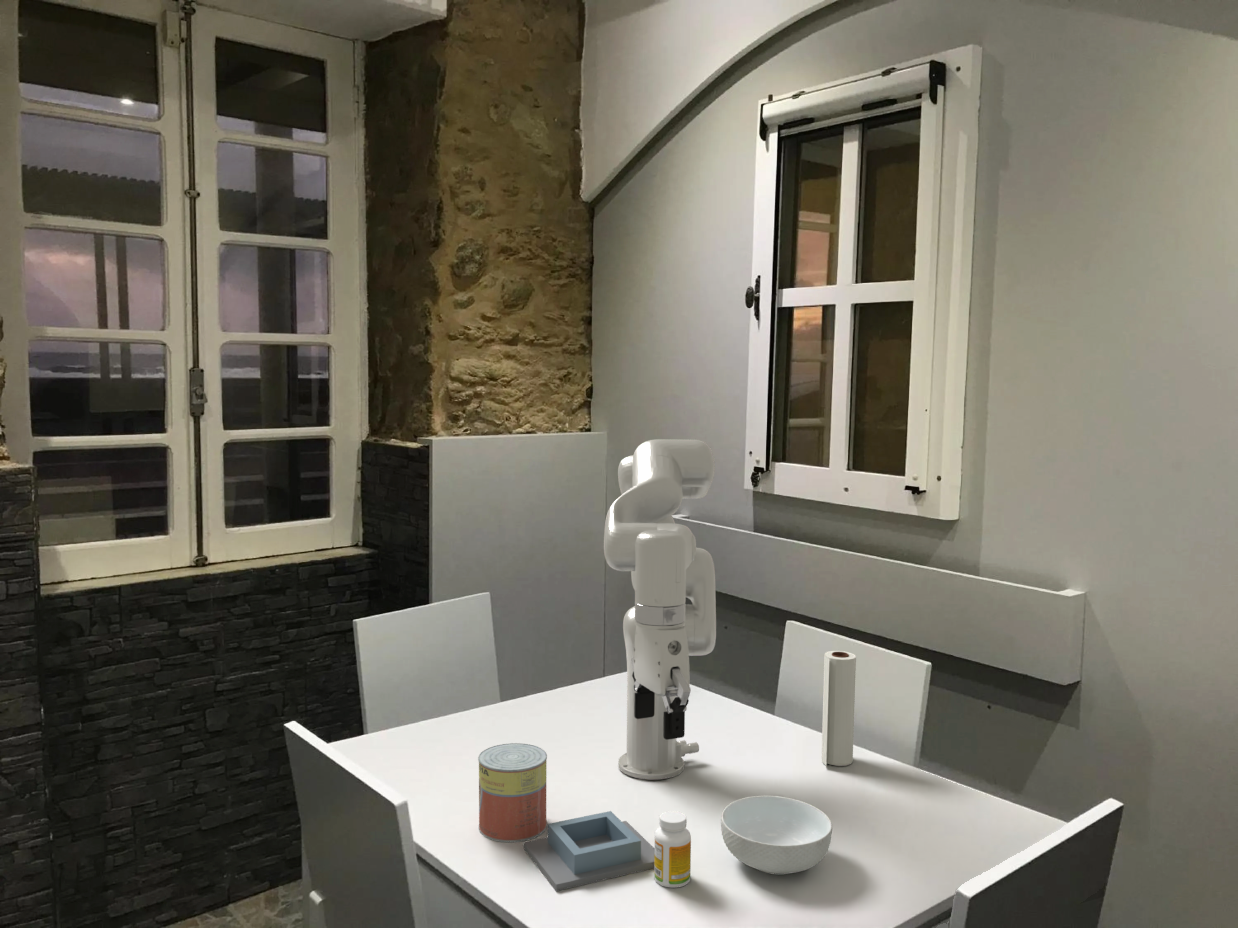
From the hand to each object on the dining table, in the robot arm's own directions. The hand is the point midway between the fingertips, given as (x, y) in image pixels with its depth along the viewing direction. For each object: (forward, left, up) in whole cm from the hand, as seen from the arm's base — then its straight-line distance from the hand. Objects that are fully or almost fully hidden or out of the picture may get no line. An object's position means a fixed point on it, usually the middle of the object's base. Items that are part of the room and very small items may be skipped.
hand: (658, 727), depth 144 cm
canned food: (+15, -23, -23) cm, 36 cm away
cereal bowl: (-18, +5, -23) cm, 29 cm away
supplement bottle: (-1, +3, -23) cm, 23 cm away
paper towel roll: (-51, -23, -23) cm, 60 cm away
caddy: (+7, -8, -22) cm, 25 cm away
